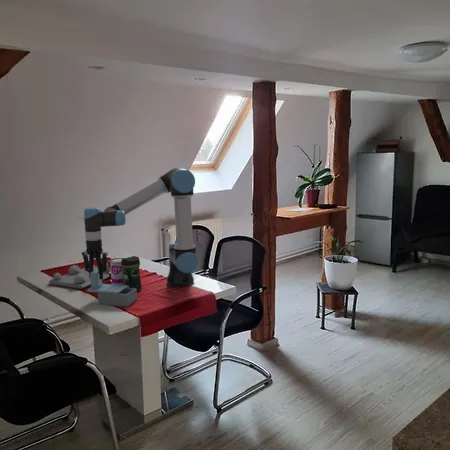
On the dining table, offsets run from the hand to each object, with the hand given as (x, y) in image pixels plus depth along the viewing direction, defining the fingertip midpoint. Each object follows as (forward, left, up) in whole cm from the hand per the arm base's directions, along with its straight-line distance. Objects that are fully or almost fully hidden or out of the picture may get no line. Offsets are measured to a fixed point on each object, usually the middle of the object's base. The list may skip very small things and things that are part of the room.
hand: (96, 285), depth 226 cm
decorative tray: (+26, -32, -9) cm, 42 cm away
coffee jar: (-10, -18, -8) cm, 22 cm away
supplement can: (0, -23, -8) cm, 24 cm away
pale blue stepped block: (-6, 0, -2) cm, 6 cm away
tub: (-11, 0, -8) cm, 14 cm away
